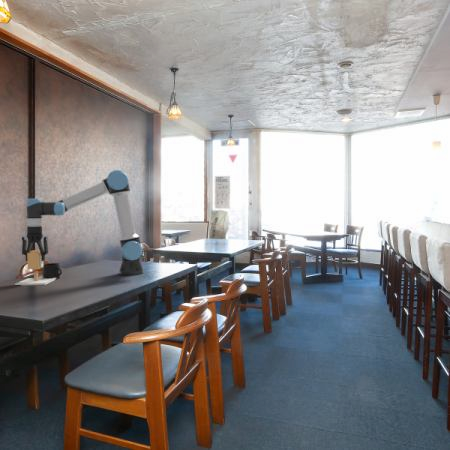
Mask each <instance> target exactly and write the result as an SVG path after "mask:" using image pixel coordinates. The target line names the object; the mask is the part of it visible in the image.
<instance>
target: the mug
mask: <svg viewBox="0 0 450 450" xmlns="http://www.w3.org/2000/svg"><path fill="white" fill-rule="evenodd" d="M41 271H42V275H41V276H43V277H44V278H56V280H58V279H60V278H61V275H62V274H63V273H62V272H63V270H62V269H61V267H60V263H58V262H54V263H53V262H52V263H51V262H50V263H43V268H41Z"/></svg>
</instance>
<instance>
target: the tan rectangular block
mask: <svg viewBox="0 0 450 450" xmlns="http://www.w3.org/2000/svg"><path fill="white" fill-rule="evenodd" d="M40 255H41V253H40V250H39V249H38V250H31V251H30V253H27V260H28V261H27V270H41V269H42V268H43V267H40Z"/></svg>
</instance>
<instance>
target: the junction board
mask: <svg viewBox="0 0 450 450" xmlns="http://www.w3.org/2000/svg"><path fill="white" fill-rule="evenodd" d="M56 280H57V279H56V278H44V277H43V276H42V275H41V276H39V269H33V278H32V277H31V278H29V277H28V278H26V279H23V280H21V281H19V282H16V283H14V286H15V285H21V286H46V285H47V284H50V283H52V282H54V281H56Z"/></svg>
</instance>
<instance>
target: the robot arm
mask: <svg viewBox="0 0 450 450" xmlns="http://www.w3.org/2000/svg"><path fill="white" fill-rule="evenodd" d="M130 193H131V189H130V184H129V177H128V175H127V173H126V172H124V171H123V170H119V169H115V170H112V171H110V172H109V174H108V175H107V177H106V178H104V179H102V180H101V182H100V183H99V182H98V183H97V184H95V185H92V186H90V187H88V188H86V189H84V190H81V191H79V192H77V193H74V194H72V195H70V196H67V197H64V198H62V199H60V200H58V201H52V202H51V201H50V202H49V201H47V202H45V201H42V199H41V198H27V200H26V206H25V207H26V226H27V228H26V231H27V232H26V236H22V237H21V241H22V242H21V243H22V244H21V245H22V247H21V249H22V250H21V254H22V255H24V256H25V262H28V260H27V253H30V251H32V248H33V244H34V243H36V245H37V247H38V250H40V253H41V255H40V267H43V264H44V262H45V260H46V255H47V254H48V255H49V246H48V245H49V244H48V240H49V236H45V235H44V234H43V226H42V225H43V216H64V215H65V213H66V212H69V211H70V210H73V209H76V208H77V207H79V206H83V205H84V204H86V203H89V202H92V201H93V200H97V199H98V198H100V197H102V196H105V195H107V194H108V195H110V196H111V197H113V200H114V206H115V210H116V211H115V212H116V217H117V219H118V220H117V221H118V227H119V230H120V231H119V232H120V234H121V237H120V238H119V244H120V249H121V263H120V267H119V271H118V274H119V275H121V276H135V275H142V274H144V267H143V263H142V262H141V256H142V254H143V247H142V244H141V238H140V236H139V235H138V234H137V231H136V227H135V222H134V218H133V213H132V212H133V211H132V206H131V201H130V198H129V194H130ZM27 240H28V242H27ZM42 240H43V245H42Z"/></svg>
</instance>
